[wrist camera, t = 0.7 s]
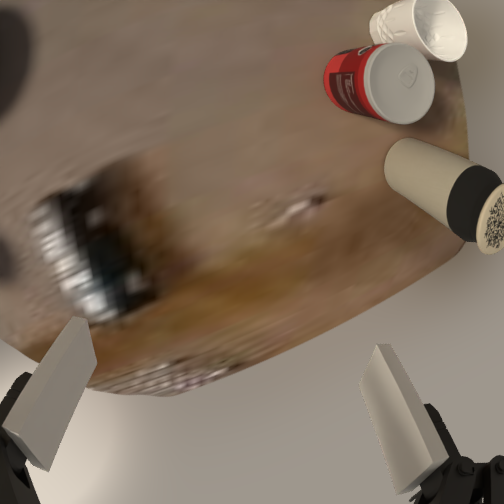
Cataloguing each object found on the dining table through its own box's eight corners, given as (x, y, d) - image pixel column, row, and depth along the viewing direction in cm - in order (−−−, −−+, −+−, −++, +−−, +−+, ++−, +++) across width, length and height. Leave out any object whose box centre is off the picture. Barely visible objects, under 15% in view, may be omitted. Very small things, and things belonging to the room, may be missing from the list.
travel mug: (379, 191, 38) (467, 260, 23) (386, 133, 34) (490, 177, 19) (422, 193, 39) (509, 254, 24) (431, 140, 35) (530, 185, 20)
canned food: (386, 67, 30) (444, 68, 20) (366, 122, 33) (420, 139, 24) (333, 39, 28) (382, 25, 18) (312, 97, 31) (355, 103, 22)
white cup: (424, 39, 28) (476, 37, 19) (395, 73, 30) (446, 76, 22) (385, -5, 25) (434, -20, 16) (352, 28, 27) (398, 15, 18)
